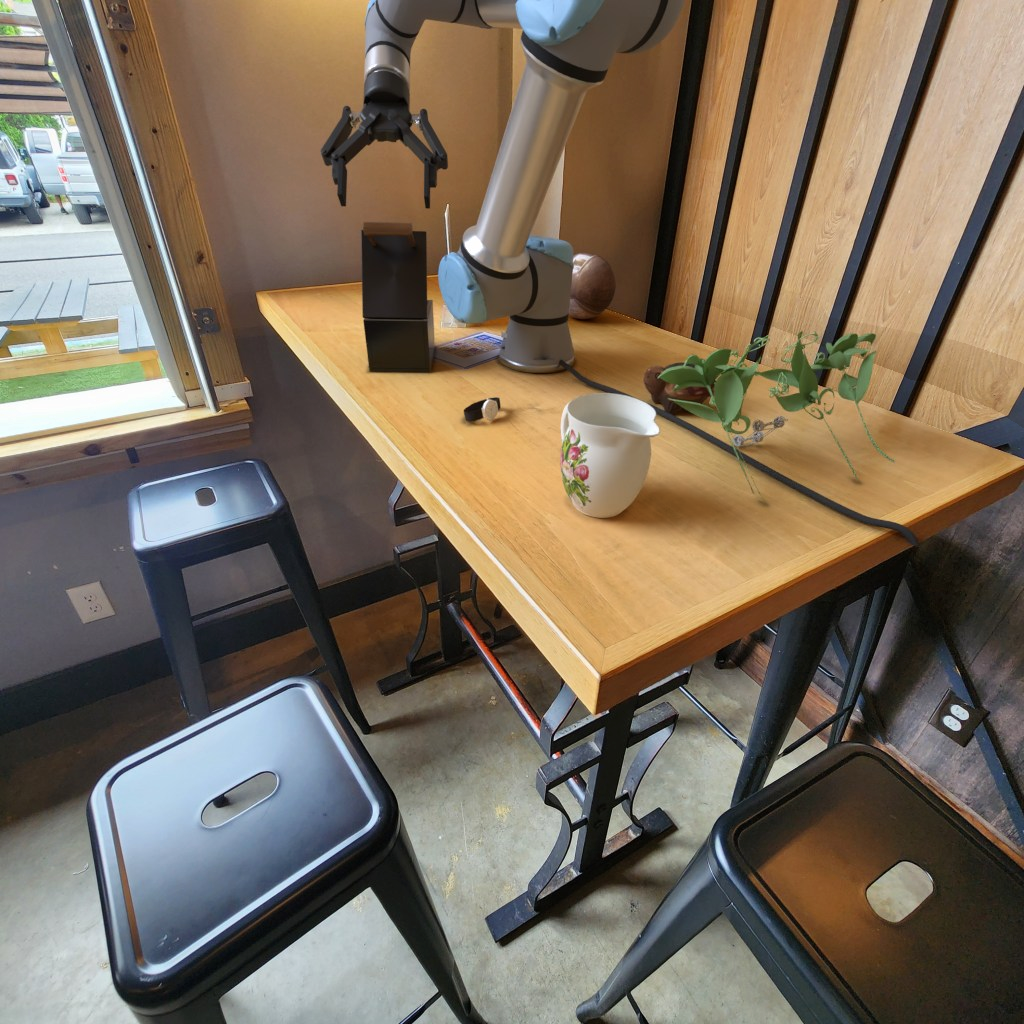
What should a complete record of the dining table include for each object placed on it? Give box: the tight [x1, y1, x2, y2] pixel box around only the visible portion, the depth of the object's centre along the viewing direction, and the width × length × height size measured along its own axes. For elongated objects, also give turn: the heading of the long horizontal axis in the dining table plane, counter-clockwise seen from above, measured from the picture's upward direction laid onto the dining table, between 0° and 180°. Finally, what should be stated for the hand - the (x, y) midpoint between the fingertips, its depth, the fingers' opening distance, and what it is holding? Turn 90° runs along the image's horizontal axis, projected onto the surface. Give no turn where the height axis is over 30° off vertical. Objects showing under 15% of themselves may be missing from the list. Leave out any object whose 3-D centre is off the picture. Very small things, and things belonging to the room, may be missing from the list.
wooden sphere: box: [568, 252, 617, 320], centre depth 138 cm, size 15×15×15 cm
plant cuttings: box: [658, 330, 896, 501], centre depth 80 cm, size 35×17×22 cm
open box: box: [362, 299, 436, 373], centre depth 112 cm, size 15×12×10 cm
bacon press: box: [360, 221, 428, 319], centre depth 99 cm, size 15×12×8 cm
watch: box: [463, 396, 502, 422], centre depth 93 cm, size 8×5×4 cm, turn 143°
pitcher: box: [559, 392, 661, 519], centre depth 71 cm, size 11×18×14 cm, turn 27°
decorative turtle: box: [642, 361, 717, 415], centre depth 97 cm, size 10×15×8 cm, turn 111°
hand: (384, 201), depth 91 cm, fingers open, 13 cm apart
